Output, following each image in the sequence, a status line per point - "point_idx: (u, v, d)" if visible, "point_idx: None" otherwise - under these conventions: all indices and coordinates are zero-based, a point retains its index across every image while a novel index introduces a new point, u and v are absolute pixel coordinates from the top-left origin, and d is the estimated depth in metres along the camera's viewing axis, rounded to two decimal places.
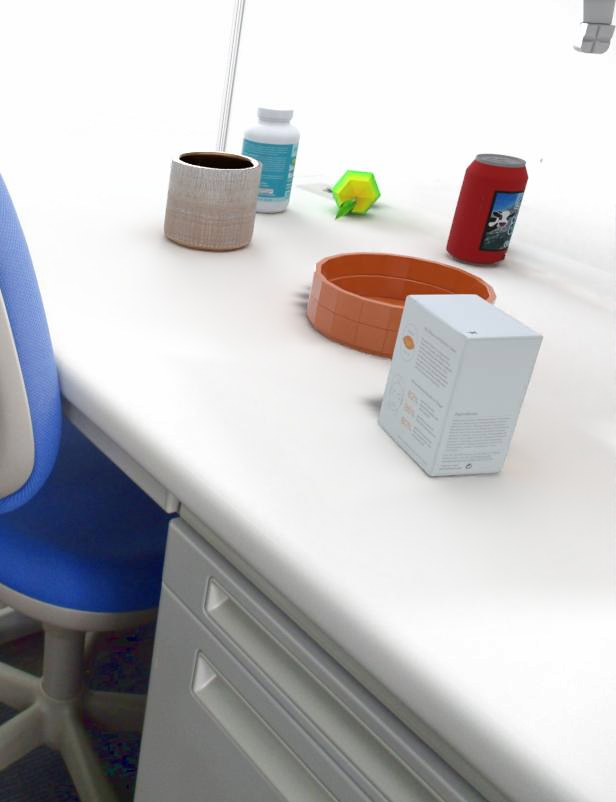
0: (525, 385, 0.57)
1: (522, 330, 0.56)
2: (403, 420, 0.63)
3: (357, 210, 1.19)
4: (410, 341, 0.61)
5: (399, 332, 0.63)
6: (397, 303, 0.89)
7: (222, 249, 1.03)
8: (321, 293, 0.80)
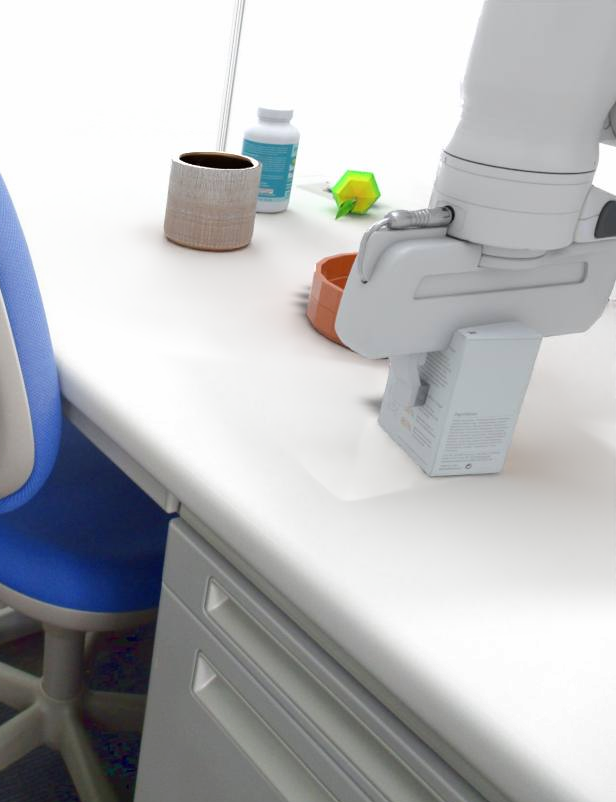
0: (525, 385, 0.57)
1: (522, 330, 0.56)
2: (403, 420, 0.63)
3: (357, 210, 1.19)
4: None
5: None
6: None
7: (222, 249, 1.03)
8: (321, 293, 0.80)
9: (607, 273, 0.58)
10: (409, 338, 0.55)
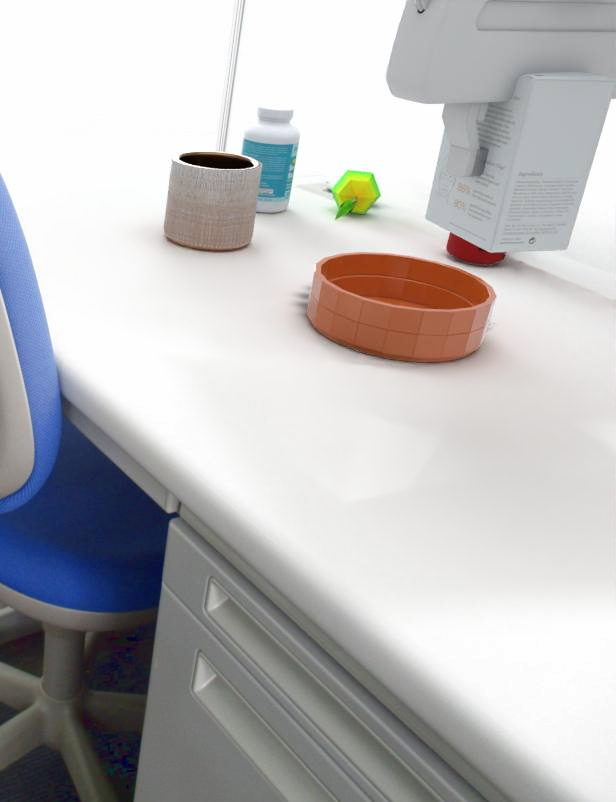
0: (596, 140, 0.52)
1: (593, 75, 0.51)
2: (457, 203, 0.57)
3: (357, 210, 1.19)
4: None
5: None
6: (397, 303, 0.89)
7: (222, 249, 1.03)
8: (321, 293, 0.80)
9: None
10: (470, 79, 0.50)
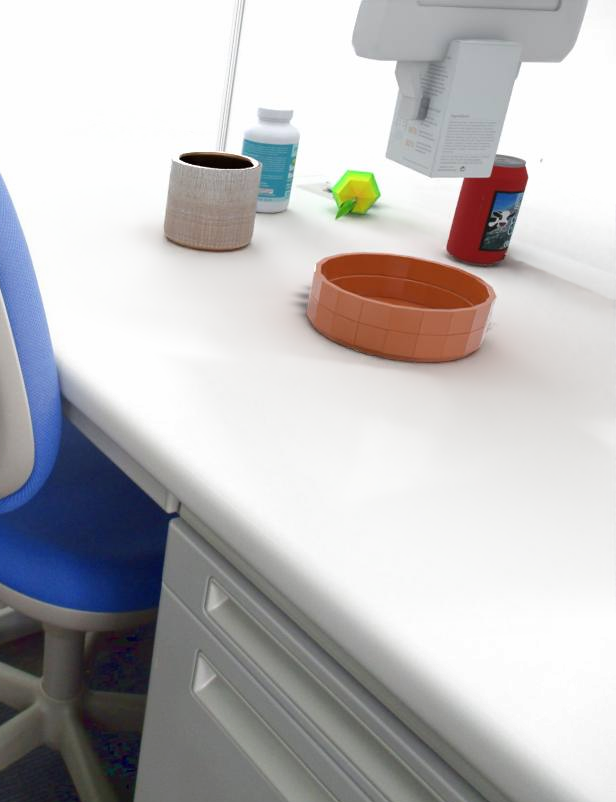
0: (509, 91, 0.69)
1: (506, 41, 0.68)
2: (407, 142, 0.74)
3: (357, 210, 1.19)
4: None
5: None
6: (397, 303, 0.89)
7: (222, 249, 1.03)
8: (321, 293, 0.80)
9: (578, 1, 0.70)
10: (413, 42, 0.67)
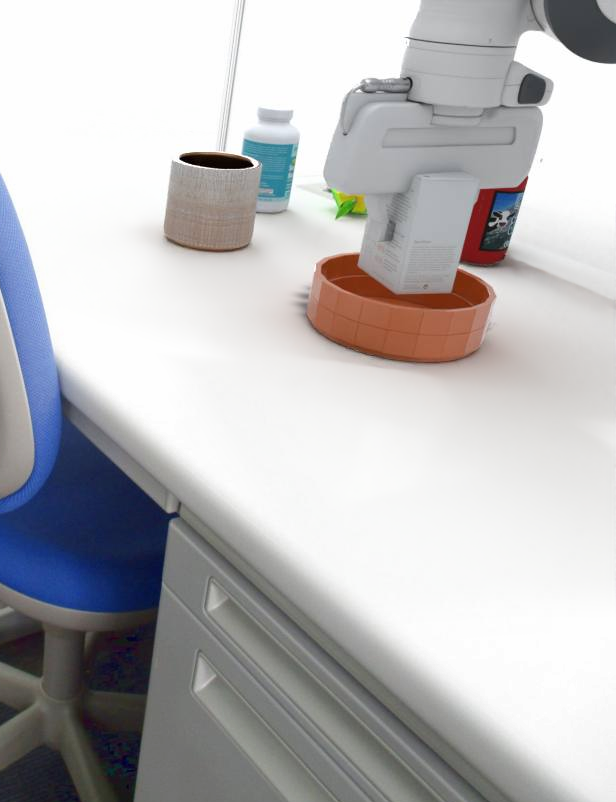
0: (467, 219, 0.75)
1: (464, 176, 0.75)
2: (376, 257, 0.81)
3: (357, 210, 1.19)
4: None
5: None
6: (397, 303, 0.89)
7: (222, 249, 1.03)
8: (321, 293, 0.80)
9: (531, 136, 0.76)
10: (379, 179, 0.73)
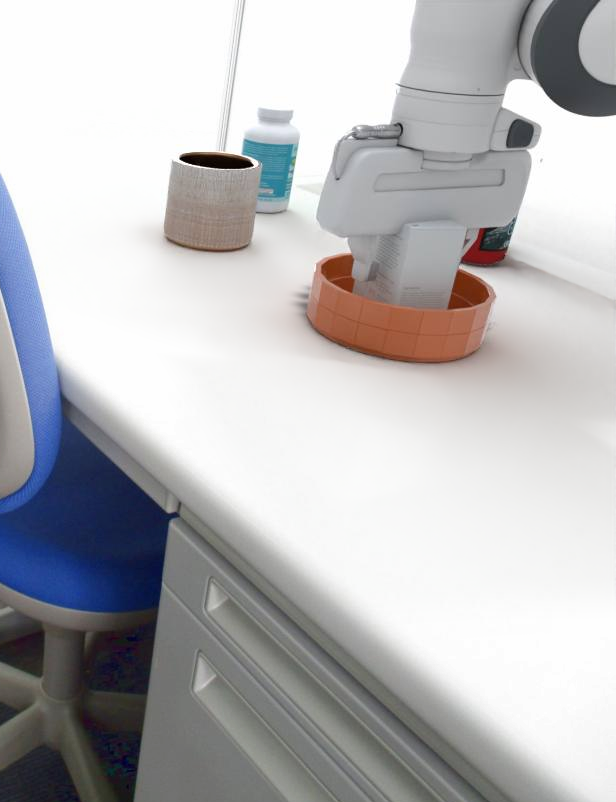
0: (455, 266, 0.77)
1: (452, 224, 0.77)
2: None
3: None
4: None
5: None
6: None
7: (222, 249, 1.03)
8: (321, 293, 0.80)
9: (520, 178, 0.78)
10: (370, 222, 0.75)
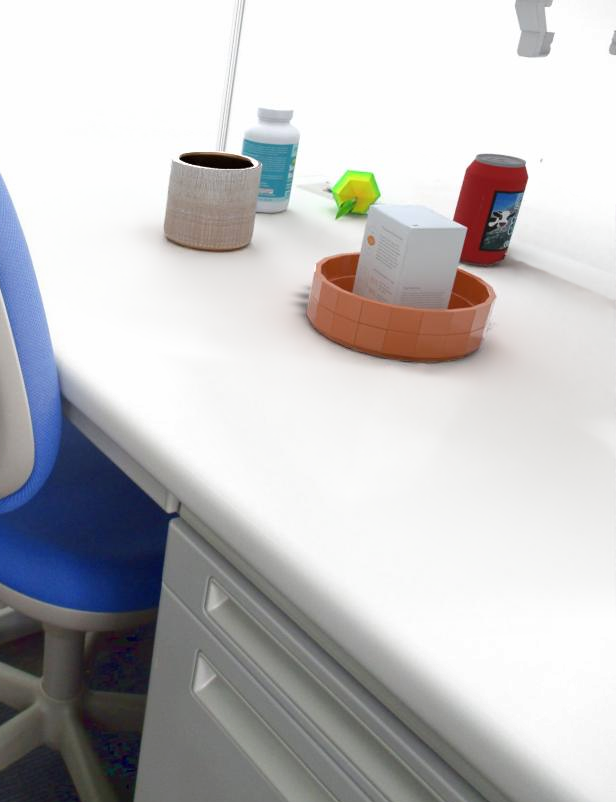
0: (455, 266, 0.77)
1: (452, 224, 0.77)
2: None
3: (357, 210, 1.19)
4: (372, 239, 0.81)
5: (364, 234, 0.83)
6: None
7: (222, 249, 1.03)
8: (321, 293, 0.80)
9: None
10: None
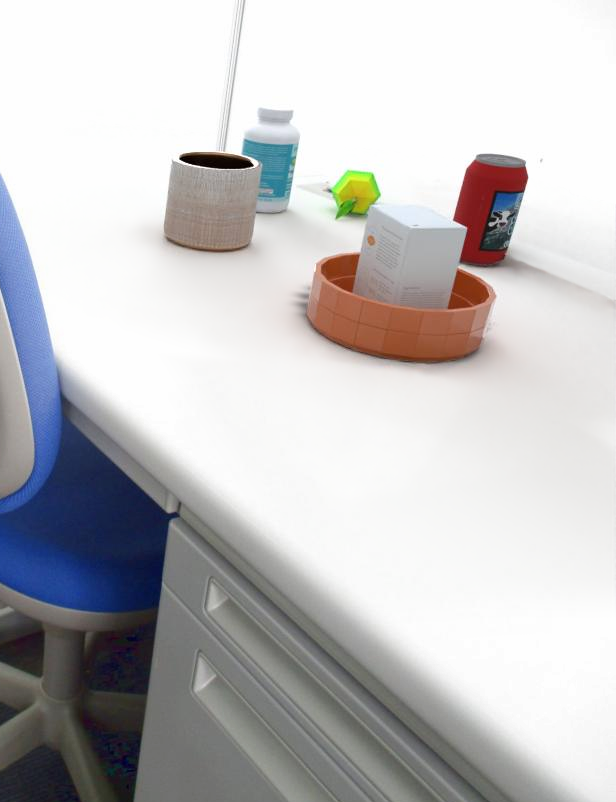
0: (455, 266, 0.77)
1: (452, 224, 0.77)
2: None
3: (357, 210, 1.19)
4: (372, 239, 0.81)
5: (364, 234, 0.83)
6: None
7: (222, 249, 1.03)
8: (321, 293, 0.80)
9: None
10: None
